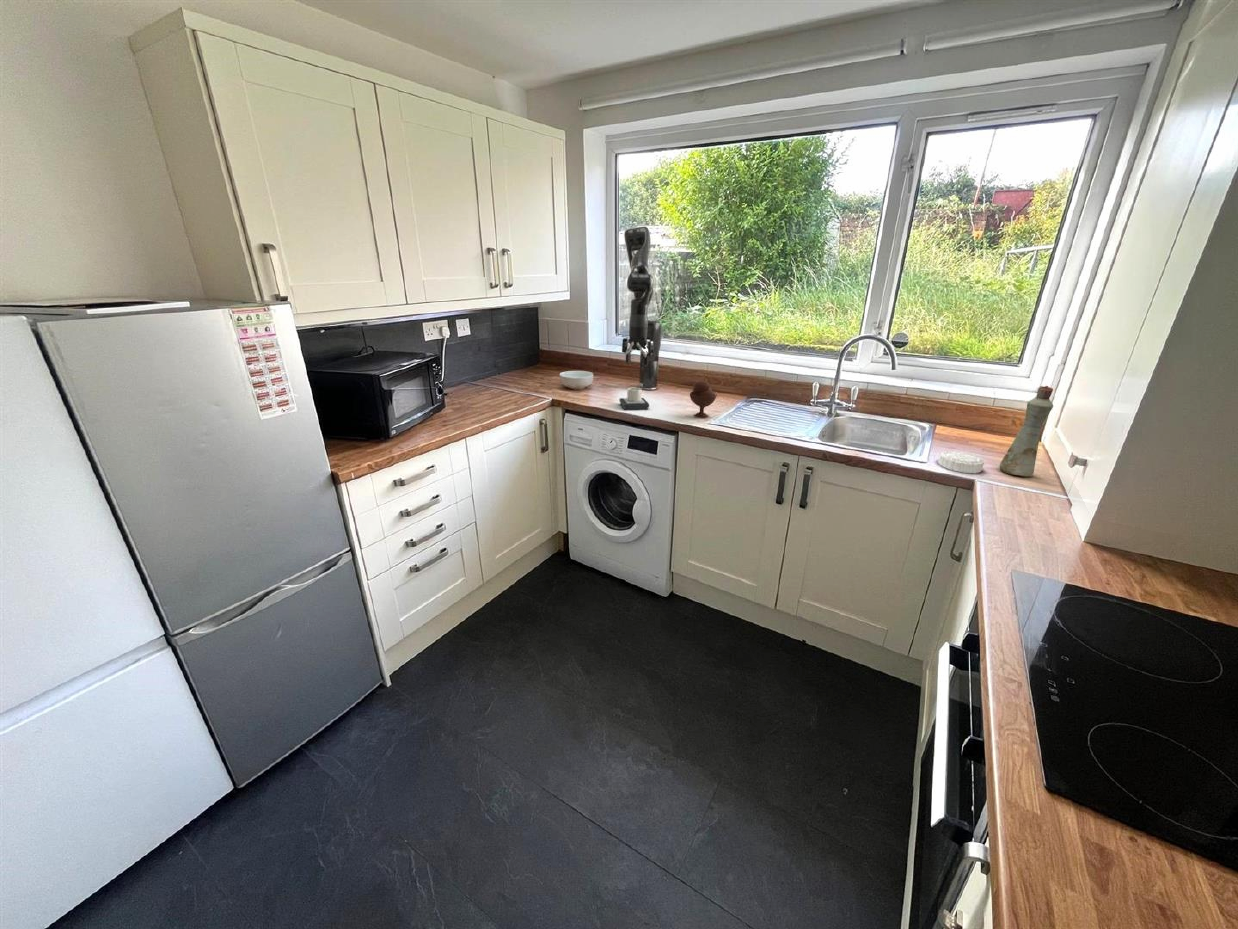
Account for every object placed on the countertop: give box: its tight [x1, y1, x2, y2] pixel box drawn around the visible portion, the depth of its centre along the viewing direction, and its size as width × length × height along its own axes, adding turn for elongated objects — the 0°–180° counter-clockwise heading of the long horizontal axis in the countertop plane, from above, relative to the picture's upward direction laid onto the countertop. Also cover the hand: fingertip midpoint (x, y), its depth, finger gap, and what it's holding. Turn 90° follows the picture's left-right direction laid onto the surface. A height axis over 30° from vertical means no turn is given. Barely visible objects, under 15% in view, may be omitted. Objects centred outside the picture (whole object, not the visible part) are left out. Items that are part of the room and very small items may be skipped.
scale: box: [619, 397, 650, 411], centre depth 218 cm, size 11×11×2 cm
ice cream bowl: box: [689, 380, 718, 419], centre depth 204 cm, size 11×11×15 cm
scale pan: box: [623, 397, 645, 404], centre depth 217 cm, size 8×8×2 cm
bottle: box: [998, 385, 1054, 478], centre depth 152 cm, size 9×9×28 cm
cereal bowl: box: [559, 370, 594, 390], centre depth 247 cm, size 17×17×7 cm
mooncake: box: [937, 450, 985, 474], centre depth 160 cm, size 12×12×4 cm
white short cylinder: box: [626, 386, 643, 402], centre depth 216 cm, size 6×6×5 cm
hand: (637, 364), depth 212 cm, fingers open, 8 cm apart
